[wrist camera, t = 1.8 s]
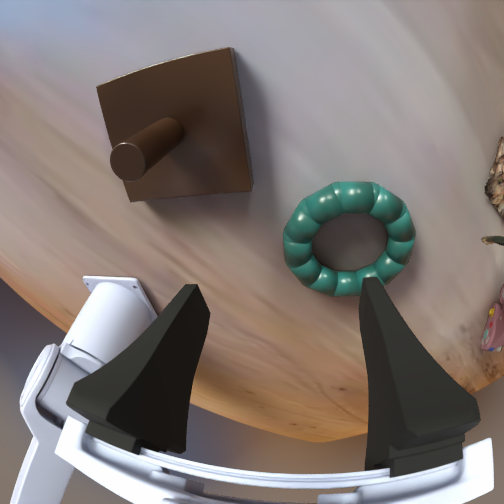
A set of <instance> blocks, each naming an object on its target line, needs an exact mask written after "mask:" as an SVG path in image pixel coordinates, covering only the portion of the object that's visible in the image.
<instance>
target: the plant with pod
mask: <svg viewBox="0 0 504 504" xmlns="http://www.w3.org/2000/svg"><path fill="white" fill-rule="evenodd" d="M498 147H499V148H498V150H497V155H496V157H497V158H495V162H494V164H493V167H492V168H491V169H490V170H491V172H490V174H491V175H490V176H489V177H491V178H489V179H488V182H487V183H486V184H487V185H486V186H485V187H484V188H485V190H486V191H485V193H486V195H487V194H488V195H487V196H489V199H490V200H491V203H493V204H496V205H495V206H494V207H497V209H498V208H499V210H498V212H499V213H500V214H501V218H502V217H504V138H503V137H501V138H500V141H499V146H498ZM482 242H483V243H485V244H492V243H494V242H495V243H497V244H499V245H504V237H502V236H491V237H483V238H482Z"/></svg>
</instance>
